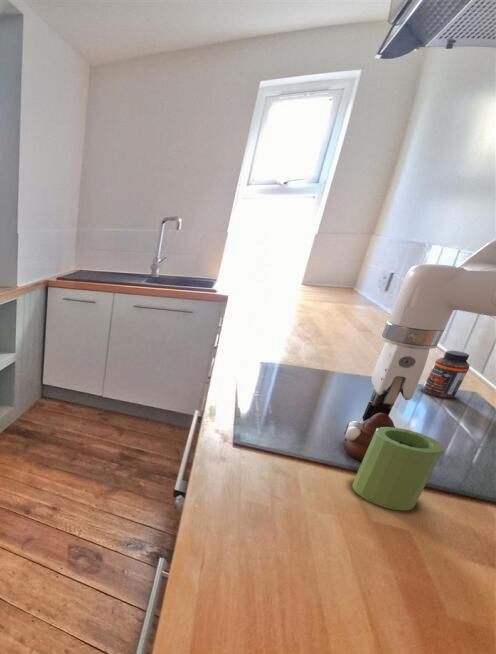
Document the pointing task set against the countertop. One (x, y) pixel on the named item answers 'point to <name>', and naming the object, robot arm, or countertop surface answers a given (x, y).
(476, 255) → the robot arm
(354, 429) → the poop emoji
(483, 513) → the countertop surface
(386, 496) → the green pipe section
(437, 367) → the supplement bottle
